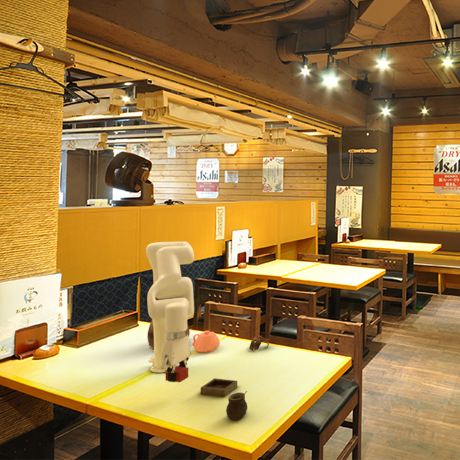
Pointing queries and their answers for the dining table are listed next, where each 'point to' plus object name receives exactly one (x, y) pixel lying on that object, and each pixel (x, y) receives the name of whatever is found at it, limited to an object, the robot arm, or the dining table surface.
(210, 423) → the dining table surface
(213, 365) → the dining table surface
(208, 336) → the sugar bowl
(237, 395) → the mate gourd
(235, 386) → the brown shallow rectangular box
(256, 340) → the pottery mug
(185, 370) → the red block
